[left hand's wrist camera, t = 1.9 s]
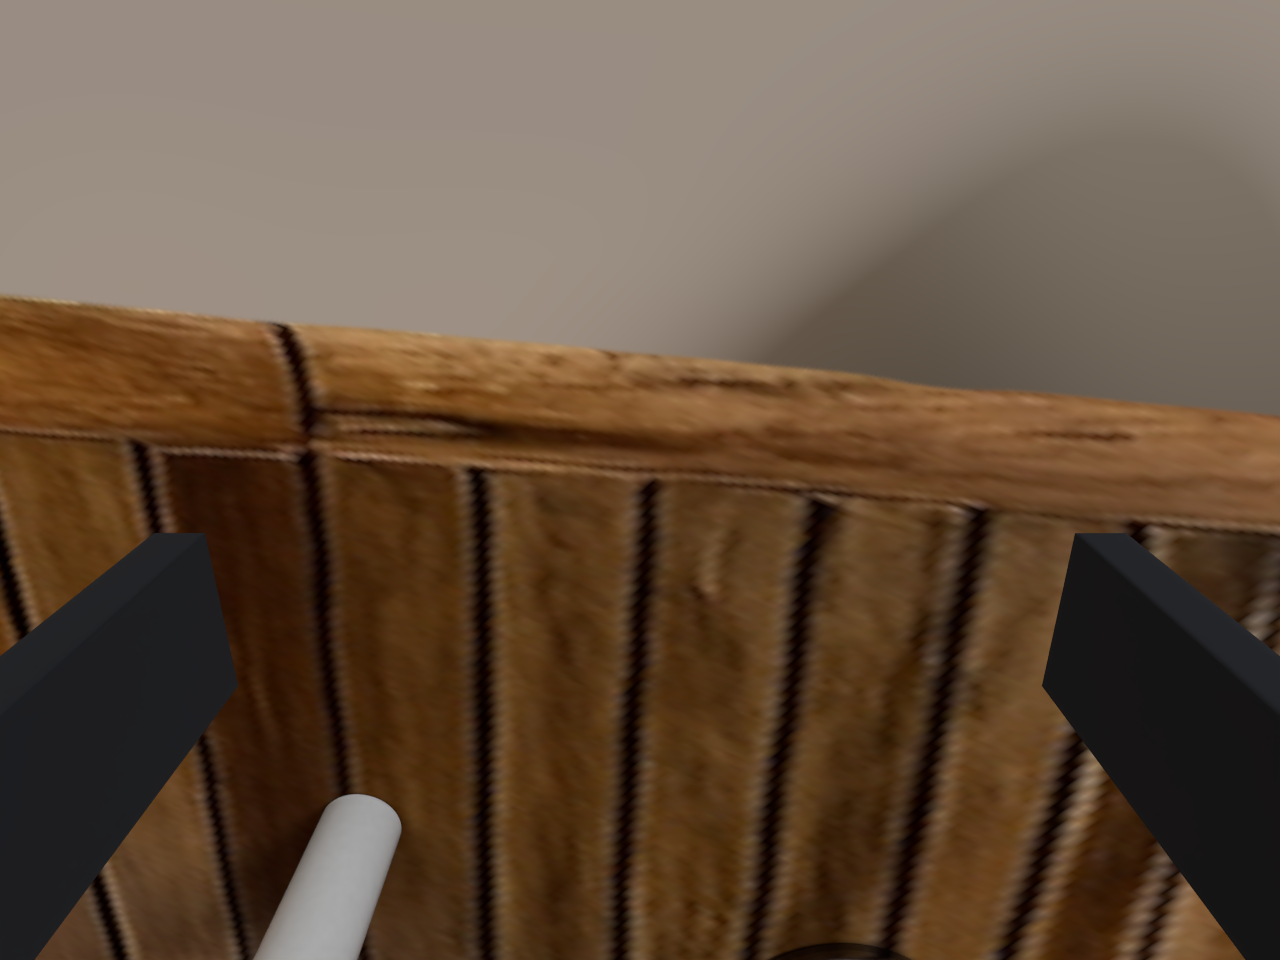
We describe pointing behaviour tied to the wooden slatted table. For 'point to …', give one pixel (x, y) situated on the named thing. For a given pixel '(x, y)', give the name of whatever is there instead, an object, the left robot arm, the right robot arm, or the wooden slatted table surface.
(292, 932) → the jar
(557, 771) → the wooden slatted table surface
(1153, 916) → the wooden slatted table surface
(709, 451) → the wooden slatted table surface
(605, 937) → the wooden slatted table surface
